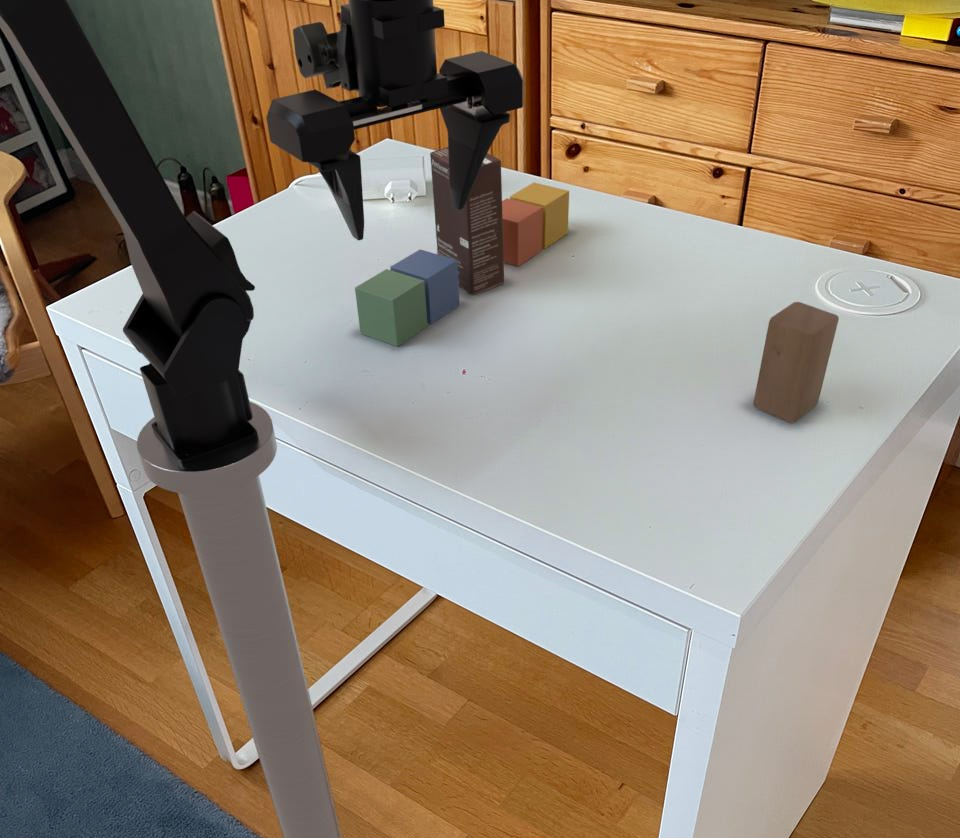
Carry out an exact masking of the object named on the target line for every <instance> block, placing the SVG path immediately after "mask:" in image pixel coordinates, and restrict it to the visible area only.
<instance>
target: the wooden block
mask: <svg viewBox="0 0 960 838" xmlns="http://www.w3.org/2000/svg"><path fill="white" fill-rule="evenodd" d="M839 320H840V317H839V316H838V314H835V313H833V312H829V311H827V310H825V309H824V310H823V309H820V308H818V307H815V306H813V305H809V304H807V303H803V302H801V301H793V303H791V304H789V305H788V306H786V307H784V308H783V309H782V310H780V311H779V312H777V313H775V314H774V315H773V316H771V317H770V319H769V321H768V326H767V331H766V335H765V341H764V347H763V351H762V357H761V362H760V365H759V366H760V367H759V372H758V378H757V382H756V387H755V393H754V398H753V403H752V406H753V407H754V408H755V409H757V410H760V411H762V412H764V413H766V414H769V415H771V416H773V417H776V418H778V419H780V420H783V421H786V422H788V423H792V424H793V423H796V422H797V421H798V420H800V419H801V418H802V417H804V416H805V415H807V414H808V413H809V412H810V411H812V410H813V409H814V408H815V407H816V406H817V405H818V404H819V401H820V397H821V393H822V389H823V384H824V382H825V381H824V380H825V377H826V373H827V368H828V364H829V360H830V356H831V352H832V348H833V345H834V339H835V336H836V333H837V327H838V324H839Z"/></svg>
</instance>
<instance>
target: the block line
mask: <svg viewBox="0 0 960 838" xmlns="http://www.w3.org/2000/svg"><path fill="white" fill-rule="evenodd" d="M569 206H570V190H567V189H563V188H559V187H556V186H550V185H546V184H542V183H538V182H535V181H534V182H531V183H530V184H528V185H526V186H525V187H523V188H522V189H520V190H518V191H517V192H515V193H513V194H511V195H510V196H509V198H508V197H507V198H505V199H502V215H503V252H504V264H505V263H506V264H509V265H513V266H516V267H519V266H521V265H523V264H524V263H525V262H527V261H528V260H530V259H531V258H533V257H534V256H536V255H538V254H539V253H540V252H543V249H547V248H548V247H550V246H552V245H553V244H554V243H556V242H557V241H560V240H561V239H562V238H564V237H565V236H566V235H568V233H569V212H570V207H569ZM389 268H390V269H388V268H385V269H384V270H382V271H381V272H379V273H377V274H375V275H374V276H372V277H370V278H369V279H367V280H365V281H363V282H361V283H360V284H359V285H357V286H355V287H354V293H355V302H356V307H357V316H358V325H359V333H360V334H361V335H363V336H366V337H368V338H369V337H370V338H371V339H372V338H373V339H374V340H378V341H380V342H383V343H386V344H389V345H392V346H394V347H399V346H401V345H403V344H404V343H405V342H407V341H408V340H410V339H411V338H414V336H416V335H417V334H419V333H420V332H422V331H423V330H425V329H427V328H428V326H429V325H428V324H430V325H432V324H434V323H435V322H437V321H438V320H440V319H441V318H444V317H445V316H446V315H447V314H449V313H450V312H452V311H453V310H456V309H457V308H458V307H459V306H460V286H459V283H458V262H457V260H455V259H451V258H448V257H445V256H441V255H438V253H434V252H431V251H427V250H424V249H418V250H416V251H414V252H412V253H411V254H409V255H408V256H406V257H404V258H403V259H400V260H399V261H398V262H396V263H394V264H393V265H391V266H389Z"/></svg>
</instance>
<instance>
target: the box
mask: <svg viewBox="0 0 960 838" xmlns="http://www.w3.org/2000/svg"><path fill="white" fill-rule="evenodd" d="M429 156H430V157H429V158H430V170H431V183H432V184H431V185H432V195H433V209H434V223H435V224H434V225H435V238H436V251H437V253H436V254H438V255H441V256H445V257H448V258H451V259H455V260H457V262H458V283H459V288H461V289H463V290H464V291H465V292H467V293H468V294H470V295H476V294H478V293H481V292H485V291H487V290H490V289H493V288H496V287H498V286H500V285H502V284H504V283H505V262H504V252H503V215H502V201H503V184H502V183H503V182H502V160H501V159H500V158H498V157H496V156H494V155H492V154H490V153H489V152H488V153H487V155H486V157H485V159H484V161H483V163H482V165H481V168H480V170H479V172H478V175H477V177H476V179H475V182H474V184H473V187H472V189H471V191H470V194H469V196H468V199H467V201H466V203H465V206H464V208H463V209H462V210H457V209H455V208H454V207H453V206H452V200H451V193H450V182H449V153H448V146H446V147H443V148H440V149H436V150H433V151H431V152H430V153H429Z"/></svg>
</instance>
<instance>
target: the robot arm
mask: <svg viewBox="0 0 960 838" xmlns="http://www.w3.org/2000/svg"><path fill="white" fill-rule="evenodd" d="M339 20H340V21H339V22H340V30H338V31H335V32H330V33H328V32H327V30H326V28H325V25H324V23H323V22H322V21H318V22H317V21H316V22H312V23H308V24H304V25H298V26H297V27H295V28H293V29H292V34H293V35H292V36H293V43H294V44H293V46H294V55H295V59H296V64H297V66H298V71H299V73H300V75H301V76H302V77H303V78H304V79H309V78H313V77H318V76H322V79H323V81H324V86H325V89H327V90H330V89H335V88H339V87H341V88H342V89H344V90H346V91H348V92H353V91H356V92H358V96H357V97H353V98H348V99H344V100H340V101H339V100H337V99H335V98H332V97H331V96H329V95H327V94H325V93H323V92H322V91H319V90H318V89H311V90H307V91H303V92H298V93H293V94H290V95H289V94H288V95H285V96H281V97H277V98H272V100H271V102H270V106H269V108H268V110H267V114H266V117H265V118H266V125H267V130H268V136H269V141H270V143H272V144H273V145H275V146H277V147H278V148H280V149H281V150H283V151H284V152H286V153H288V154H289V155H291V156H292V157H294V158H295V159H297V160H299V161H300V162H301V163H308V164H310V165H311V166H313V167H315V168H316V169H317V171H318V172H319V174H320V175H321V177H322V178H323V180H324V181H325V183H326V186H327V187H328V189H329V190H330V192H331V194H332V197H333V199H334V201H335V203H336V205H337V207H338V209H339V212H340V213H341V215H342V217H343V220H344V221H345V223H346V226H347V228H348V230H349V232H350V234H351V236H352V238H353V239H356V240H357V241H362V240H364V233H365V210H364V195H363V193H364V192H363V179H362V178H363V177H362V164H361V163H362V161H361V155H360V154H358V153H356V152H354V151H352V150H350V149H351V147H352V146H353V144H354V142H355V141H356V135H355V130H359V129H362V128H367V127H371V126H376V125H379V124H383V123H387V122H391V121H395V120H399V119H403V118H406V117H411V116H414V115H418V114H422V113H426V112H431V111H435V110H438V109H439V111H440V113H441V116H442V119H443V122H444V124H445V128H446V131H447V147H448V153H449V182H450V193H451V200H452V206H453V207H454V208H455V209H457V210H462V209H463V208H464V206H465V203H466V201H467V199H468V196H469V194H470V191H471V189H472V187H473V184H474V182H475V179H476V177H477V175H478V172H479V170H480V168H481V165H482V163H483V161H484V159H485V157H486V155H487V153H488V154H489V151H490V149H491V147H492V145H493V143H494V141H495V139H496V137H497V135H498V133H499V132H500V130H501V127H502V126H504V125H506V124H509V123H510V122H511V113H510V112H511V111H514V110H515V111H516V110H518V109H522V108H523V107H524V105H525V79H524V77H523V75H522V73H521V71H520V69H519V67H518V66H517V64H516V63H513V62H512V61H509V60H506V59H503V58H501V57H498V56H496V55H493V54H491V53H488V52H486V51H483V50H479V51H476V52H471V53H467V54H463V55H459V56H454V57H449V58H445V59H444V61H443V62H442V64H441V66H440V68H439V70H438V66H437V63H438V62H437V47H436V46H437V45H436V29H440V28H445V26H446V25H445V23H446V22H445V9H444V8H440V7H438V6H435V5H434V0H348V3H347V4H342V5H340V13H339ZM0 30H1V31H2V33H3V34H4V36H5V38H6V40H7V41H8V43H9V44H10V46H11V48H12V49H13V51H14V53H15V54H16V56H17V58H18V59H19V61H20V63H21V64H22V66H23V67H24V69H25V70H26V73H27V74H28V76H29V77H30V79H31V80H32V82H33V84H34V85H35V87H36V89H37V91H38V92H39V94H40V95H41V97H42V99H43V100H44V102H45V104H46V105H47V107H48V109H49V110H50V112H51V114H52V115H53V117H54V119H55V120H56V122H57V124H58V125H59V127H60V128H61V130H62V132H63V133H64V135H65V137H66V139H67V141H68V142H69V144H70V145H71V146H72V148H73V150H74V151H75V153H76V155H77V156H78V158H79V160H80V162H81V163H82V165H83V167H84V168H85V169H86V171H87V173H88V174H89V176H90V178H91V180H92V181H93V183H94V185H95V186H96V188H97V189H98V191H99V193H100V194H101V197H102V198H103V199H104V201H105V203H106V204H107V206H108V207H109V209H110V211H111V212H112V214H113V216H114V218H115V219H116V221H117V222H118V224H119V226H120V228H121V230H122V233H123V236H124V240H125V244H126V249H127V252H128V256H129V257H128V258H129V261H130V264H131V267H132V269H133V273H134V275H135V277H136V279H137V283H138V284H139V287H140V291H141V292H142V294H141V295H140V298H139V299H138V301H137V302H136V304H135V306H134V308H133V309H132V311H131V313H130V315H129V317H128V318H127V320H126V322H125V324H124V325H123V327H122V332H123V334H124V335H125V337H126V338H127V339H128V340H129V342H130V344H132V346H133V347H134V348H135V350H136V351H137V352H138V353H139V354H141V355H142V356H143V357H144V358H145V359H146V361H148V364H145V365H141V366H140V368H139V370H140V375H141V377H142V380H143V381H142V382H143V384H144V388H145V390H146V394H147V398H148V400H149V403H150V407H151V410H152V413H153V417H155V420H156V422H154V423H153V424H152V425H151V426H152V429H153V431H154V433H155V434H156V435H157V436H158V437H159V439H160V440H161V441H162V442H163V444H164V445H165V446H166V447H167V448H168V450H169V451H170V452H171V453H172V455H173V456H174V457H175V458H176V459H177V461H178V462H179V463H180V464H182V465H187V464H190V463H193V462H195V461H198V460H201V459H203V458H206V457H209V456H211V455H214V454H217V453H219V452H222V451H225V450H228V449H230V448H233V447H236V446H238V445H241V444H244V443H246V442H249V441H252V440H254V439H256V438H257V437H258V434H257V430H256V429H255V428H254V427H253V426H252V425H251V424H250V423H249V422H248V421H250V420H252V417H253V415H252V411H251V406H250V402H251V401H250V398H249V393H248V388H247V385H246V380H245V376H244V373H243V372H242V371H241V370H240V361H241V354H242V347H243V342H244V341H243V340H244V338H245V337H246V335H247V333H248V332H249V329H250V326H251V323H252V321H253V320H254V317H255V313H254V306H253V303H252V300H251V297H250V295H249V294H248V292H253V291H255V289H256V286H255V285H254V284H253V283H252V282H250V281H249V280H248V278H246V276H245V275H244V274H243V272H242V271H241V268H240V265H239V263H238V260H237V257H236V254H235V251H234V248H233V246H232V244H231V241H230V239H229V238H228V237H227V236H226V235H225V234H223V233H222V232H221V231H220V230H218V228H216V227H215V226H213V225H212V224H211V223H210V222H209V221H207V220H206V219H205V218H204V217H203V216H201V215H200V214H199V213H197V212H196V211H194V210H193V211H192V212H190V213H189V215H187V216H186V217H185V215H184V214H183V212H182V210H181V208H180V207H179V204H178V202H177V201H176V199H175V197H174V196H173V193H172V192H171V190H170V188H169V186H168V184H167V183H166V180H165V179H164V176H163V175H162V173H161V171H160V169H159V168H158V166H157V164H156V162H155V161H154V158H153V157H152V154H151V153H150V152H149V149H148V147H147V146H146V144H145V142H144V140H143V138H142V137H141V135H140V133H139V131H138V129H137V127H136V125H135V124H134V122H133V120H132V118H131V116H130V115H129V112H128V110H127V109H126V107H125V105H124V103H123V101H122V100H121V98H120V96H119V94H118V93H117V91H116V89H115V87H114V85H113V84H112V81H111V80H110V78H109V76H108V75H107V73H106V70H105V69H104V67H103V65H102V62H100V60H99V58H98V56H97V54H96V52H95V50H94V48H93V47H92V45H91V43H90V41H89V39H88V37H87V36H86V34H85V32H84V30H83V28H82V26H81V25H80V23H79V20H78V18H77V17H76V15H75V14H74V11H73V10H72V8H71V6H70V5H69V3H68V1H67V0H0ZM249 401H250V402H249Z"/></svg>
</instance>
